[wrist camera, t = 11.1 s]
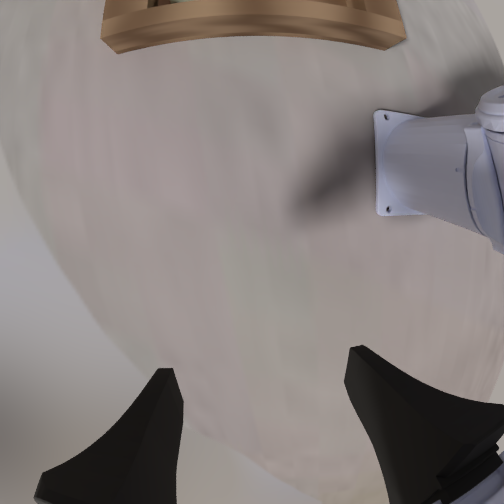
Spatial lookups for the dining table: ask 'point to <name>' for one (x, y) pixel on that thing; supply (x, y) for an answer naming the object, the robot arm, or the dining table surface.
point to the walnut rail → (250, 21)
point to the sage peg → (177, 0)
